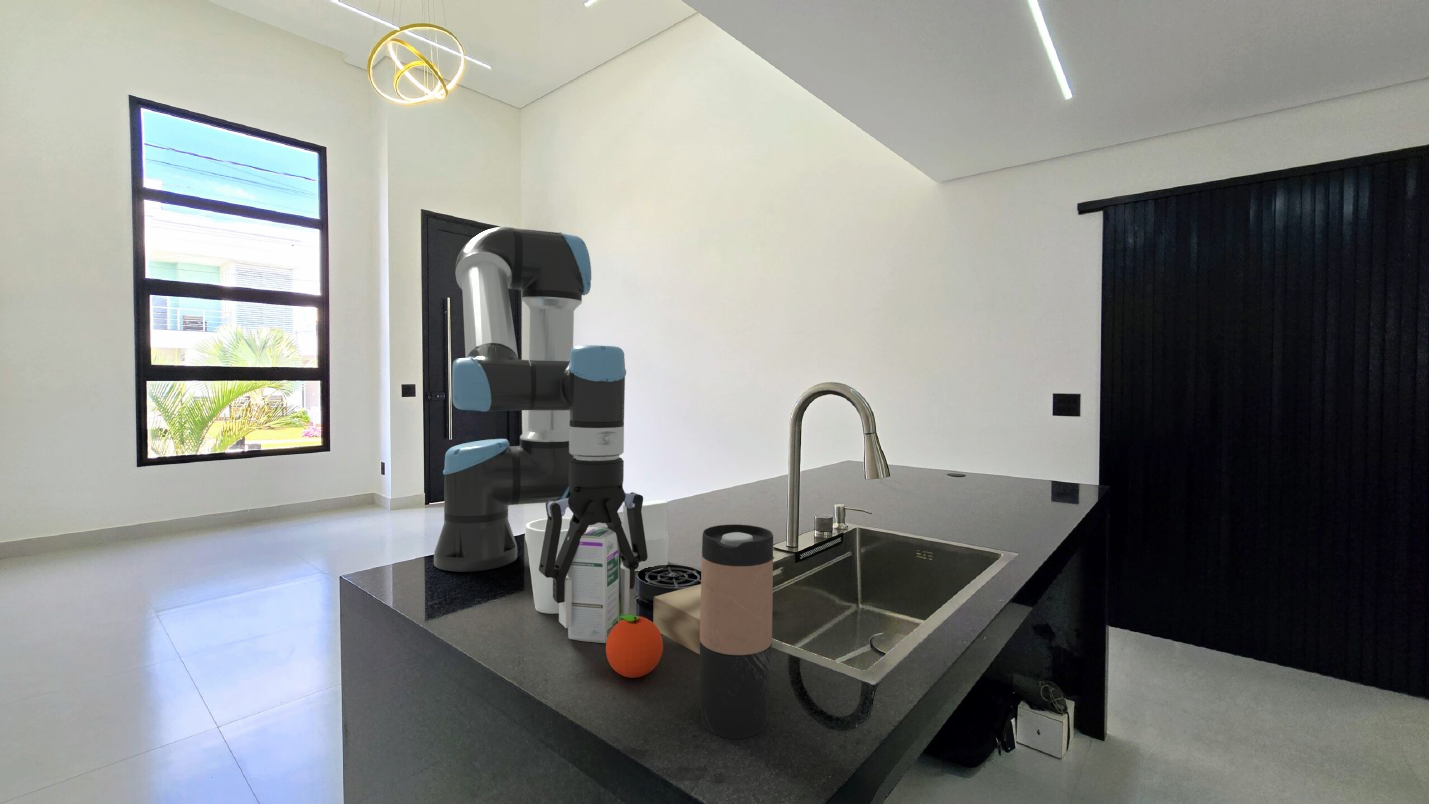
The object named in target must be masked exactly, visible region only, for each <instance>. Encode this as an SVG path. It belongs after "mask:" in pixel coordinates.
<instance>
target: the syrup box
mask: <svg viewBox="0 0 1429 804" xmlns="http://www.w3.org/2000/svg"><path fill="white" fill-rule="evenodd" d="M568 540H569V537H568ZM621 564H622V560H621V551H620V547H619V543H618V539H617V535H616V533H615V532H614V531H613V530H611V529H609V528H608V526H607V527H605V526H588V528H587V530H586V532H585V533H584V534H583V536H581V539H580V544H579V546H578V549H577V551H576V553H575V556H574V558H573V561H572V563H571V566H570V568H569V571H568V577H569V578H571V579H572V607H571V627H569V628H567V637H568V639H570V640H573V641H578V642H579V641H582V642H588V643H591V642H592V643H598V644H606V642H607V638H608V636H609V634H610V632H611V630H612V629H613V627H614V626H615V625H616V624H617V623H619V622H620V621H622V618H618V617H621V616H622V613H621ZM616 618H618V619H617V620H616V621H615V622H614V624H613V627H612V623H613V621H614V619H616Z"/></svg>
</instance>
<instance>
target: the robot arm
mask: <svg viewBox="0 0 1429 804" xmlns="http://www.w3.org/2000/svg"><path fill="white" fill-rule="evenodd" d="M455 261H456V262H455V279H456V283H457V285H458V287H459V289H461V291H462V306H463V307H462V308H463V309H462V310H463V331H464V333H463V334H464V349H465V350H464V352H465V354H464V355H465V357H461V358H459V357H458V358H456V359H455V360H453V362H452V375H451V376H452V379H451V380H452V381H451V382H452V384H451V385H452V405H453V406H454V408H456V409H458V410H462V411H479V412H485V413H486V412H500V411H501V412H503V411H504V412H506V411H508V412H509V411H510V412H511V411H527V412H528V415H527V416H528V417H527V420H528V422H527V423H528V424H527V426H528V427H527V429H526V430H525V431H524V432H523V433H522V434H520V436H519V445H513V446H512V445H511V446H510V442H509V440H508V439H507V438H495V439H492V438H491V439H484V440H477V441H469V442H466V443H461V444H458V445H454V446H451V447H450V448H449V449H447V451H446V452H445V455H444V469H443V471H442V474H443V475H444V500H443V502H444V503H443V505H444V506H443V507H444V508H443V511H444V513H443V515H444V516H443V525H442V529H441V531H440V535H439V537H438V541H437V543H436V545H435V549H434V551H433V566H434V567H435V568H437V569H438V570H441V571H442V570H443V571H449V572H458V573H459V572H460V573H461V572H462V573H463V572H464V573H465V572H466V573H467V572H480V571H487V570H494V569H497V568H501V567H504V566H507V565H510V564H511V563H513V562H515V561H516V560H517V558H518V545H517V541H516V538H515V536H514V533H513V529H512V527H511V523H510V522H509V506H515V505H518V506H519V505H530V504H531V505H532V504H533V505H534V504H544V503H545V510H546V516H547V518H548V519H547V524H546V530H545V536H544V541H543V547H542V553H541V559H540V564H539V571H540V572H541V573H542V574H543V575H544V576H545V577H547V578H553V599H554V600H555V601H556V602H557V603H559V613H558V622H559V623H560V624H561V625H562V626H563V627H564V628H565V629H568V628H569V627H571V607H572V579H571V578H569V577H568V576H567V573H568V571H569V568H570V566H571V563H572V561H573V558H574V556H575V553H576V551H577V549H578V546H579V544H580V539H581V536H583V534H584V533H585V532H586V530H587V528H588V527H590V526H593V525H595V524H596V525H597V524H604V525H606V526H607V527H608V528H609V529H611V530H613V531H614V532H615V533H616V535H617V539H618V543H619V547H620V551H621V615H622V616H623V615H630V590H632V589H634V588H635V583H636V581H635V580H636V579H635V578H636V572H635V569H637V568H638V566H639V562H641V561H646V560H647V558H648V555H647V548H646V541H645V534H644V527H643V520H642V513H641V509H642V504H643V502H644V496H643V495H641V494H639V493H636V492H633V491H632V492H629V493H627V492H625V490H624V488H623V487H624V476H625V474H624V466H625V463H624V460H623V458H622V457H621V455H622V454H623V453H624V452H625V447H624V446H625V400H626V399H625V396H626V394H625V393H626V392H625V390H626V389H625V388H626V374H627V369H626V361H625V360H626V359H625V351H624V350H623V349H622V348H621V347H619V346H614V345H597V344H594V345H592V344H589V345H588V344H585V345H583V344H582V345H581V344H580V345H575V346H574V325H575V324H574V322H575V320H574V319H575V318H574V317H575V310H576V309H578V308H579V306H580V305H581V304H582V301H583V300H582V299H583V296H586V295H588V294H589V293H590V291H591V288H592V287H591V285H592V282H591V281H592V266H591V257H590V254H589V250H588V247H587V245H586V242H585V241H584V240H583V238H581V237H579V236H578V235H573V234H567V233H563V232H555V231H545V230H536V229H535V230H534V229H526V228H525V229H524V228H516V227H511V226H500V227H493V228H489V229H486V230H484V231H482V232H480V233H478V234H477V235H476V236H473V237H472V238H471V239H469V240H468V242H466V243H465V245H464V246H463V247H462V248H461V250H460V252H459V253H458V255H457V258H456V260H455ZM509 290H518V291H521V300H522V302H523V303H524V304H525V305H526V306H527V307H528V309H529V330H528V331H529V332H528V333H529V340H528V341H529V344H528V345H529V347H528V348H529V349H528V351H529V352H528V359H519V355H518V347H517V341H516V334H515V328H514V327H515V326H514V321H513V313H512V307H511V301H510V293H509V292H510V291H509ZM622 505H625V506H626V507H627V517H628V524H629V531H630V538H631V545H632V550H631V547H630V545H629V542H628V540H627V537H626V535H625V533H624V530H623V521H622V520H621V518H620V515H619V513H618V511H619V510H620V509H621V507H622ZM567 508H569V510H570V511H571V513H572V515H571V517H570V518H571V521H570V524H569V526H570V527H569V530H568V532H567V535H566V537H565V539H564V542H563V544H562V547H561V549H560V552H559V554H558V557H557V559H556V555H557V550H558V544H559V538H560V532H561V526H562V518H563V517H564V516H565V514H566V509H567ZM568 537H569V540H568ZM622 562H623V565H622Z"/></svg>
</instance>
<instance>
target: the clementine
mask: <svg viewBox="0 0 1429 804" xmlns="http://www.w3.org/2000/svg"><path fill="white" fill-rule="evenodd" d="M618 618H621V621H620V622H619V623H617V624H616V625H615V626H614V627H613V624H614V622H615V621H616V620H617V619H618ZM618 618H616V619H614V621H613V623H612V627H613V629H612V630H611V632H610V634H609V636H608V638H607V642H606V643H605V645H606V646H605V653H606V659H607V661H608V663H609V665H610V667H611V668H612V669H613V670H614V671H615V672H616V673H617V674H619V675H621V676H623V677H625V678H629V679H631V678H632V679H637V678H641V677H643V676H645V675H647V674H649V673H651V672H652V671H653V670H654V669H655V668H656V666H658V664H659V662H660V660H661V657H662V655H663V652H664V641H663V640H664V639H663V637H662V633H660V631H659V629H658V628H657V627H656V625H655V624H654V623H653V621H652V620H649V619H648V618H646V617H644V616H639V615H634V614H628V615H623V614H622V615H621V617H618Z"/></svg>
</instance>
